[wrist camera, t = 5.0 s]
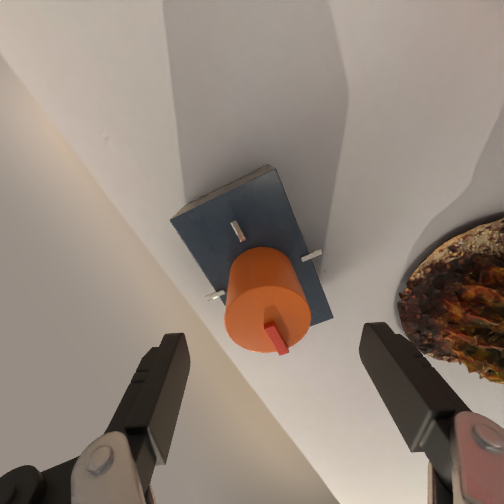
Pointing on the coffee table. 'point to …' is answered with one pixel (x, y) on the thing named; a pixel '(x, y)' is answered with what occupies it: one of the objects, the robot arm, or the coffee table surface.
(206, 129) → the coffee table surface
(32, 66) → the coffee table surface
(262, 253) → the dial knob
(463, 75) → the coffee table surface
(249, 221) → the dial base block
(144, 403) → the robot arm
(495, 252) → the cactus
